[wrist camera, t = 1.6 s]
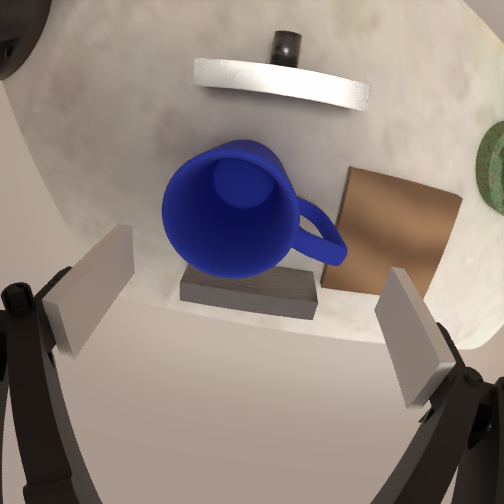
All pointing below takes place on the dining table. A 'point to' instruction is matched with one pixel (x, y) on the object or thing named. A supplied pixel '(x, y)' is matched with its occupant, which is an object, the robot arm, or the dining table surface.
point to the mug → (242, 213)
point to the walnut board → (390, 232)
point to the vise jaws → (285, 84)
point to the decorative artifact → (492, 167)
